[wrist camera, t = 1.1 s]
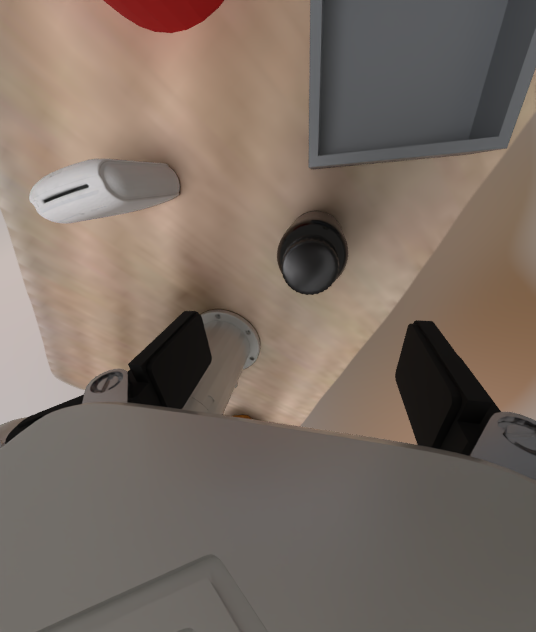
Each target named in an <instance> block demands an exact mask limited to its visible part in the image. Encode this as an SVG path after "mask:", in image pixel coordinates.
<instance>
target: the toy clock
mask: <svg viewBox="0 0 536 632" xmlns="http://www.w3.org/2000/svg"><path fill="white" fill-rule="evenodd" d="M104 1H105V2H106V3H107V4H109V5H110V6H111V7H112V8H114V9H115V10H116V11H117V12H119V13H120V14H121V15H122V16H124V17H125V18H127V19H129V20H130V21H132V22H133V23H135V24H136V25H138V26H140V27H143V28H146V29H149V30H152V31H155V32H166V33H173V32H178V31H182V30H187V29H189V28H191V27H193V26H195V25H197V24H199V23H201V22H202V21H204V20H205V19H206V18H207V17H208V16H210V15H211V14H212V13H213V12H214V11H215V10H216V9H217V8H219V6H220V5H221V4H222V2H223V1H224V0H104Z"/></svg>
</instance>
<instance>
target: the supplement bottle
mask: <svg viewBox="0 0 536 632" xmlns="http://www.w3.org/2000/svg"><path fill="white" fill-rule="evenodd" d="M347 260H348V246H347V242H346V239H345V237H344V234H343V231H342V229H341V226H340V225H339V223H338V221H337V220H336V219H335V218H334V217H333V216H331V215H330V214H328V213H326V212H322V211H311V212H307V213H305V214H303V215H301V216H300V217H298V218H297V219H296V220H295V221H294V222H293V223H292V225H291V226H290V227H289V229H288V230H287V231H286V233H285V234H284V235H283V237H282V239H281V241H280V243H279V246H278V251H277V261H278V265H279V268H280V271H281V273H282V274H283V278H284V279H285V282H286V283H287V284H288V286H290V287H291V288H292V289H293V290H295V291H296V292H300V293H301V294H306V295H308V294H311V295H313V294H318V293H319V292H323V291H324V290H326V289H328V287H330V286H331V285H332V283H333V282H334V281H335V280H336V279H338V277H339V276H340V275H341V274H342V272H343V271H344V269H345V266H346V264H347Z"/></svg>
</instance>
